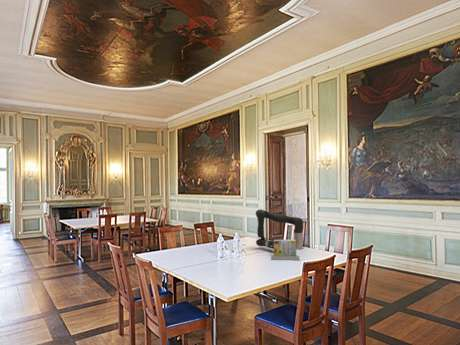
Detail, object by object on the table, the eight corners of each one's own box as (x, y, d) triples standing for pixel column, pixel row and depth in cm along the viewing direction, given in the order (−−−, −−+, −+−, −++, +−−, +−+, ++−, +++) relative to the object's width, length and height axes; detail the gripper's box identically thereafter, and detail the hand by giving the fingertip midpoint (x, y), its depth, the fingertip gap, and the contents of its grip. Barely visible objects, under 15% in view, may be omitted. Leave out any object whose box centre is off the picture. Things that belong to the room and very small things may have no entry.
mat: (271, 256, 311) (271, 255, 311) (298, 256, 307) (298, 256, 307) (271, 259, 295) (271, 259, 295) (299, 260, 291) (299, 260, 291)
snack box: (295, 255, 314) (295, 239, 315) (296, 256, 309) (296, 240, 309) (273, 254, 316) (273, 239, 317) (274, 256, 311) (273, 240, 312)
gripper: (265, 241, 332) (275, 243, 317) (275, 239, 339) (286, 242, 324) (265, 248, 332) (276, 251, 317) (275, 247, 339) (286, 249, 324)
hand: (281, 246), depth 321 cm, fingers closed
